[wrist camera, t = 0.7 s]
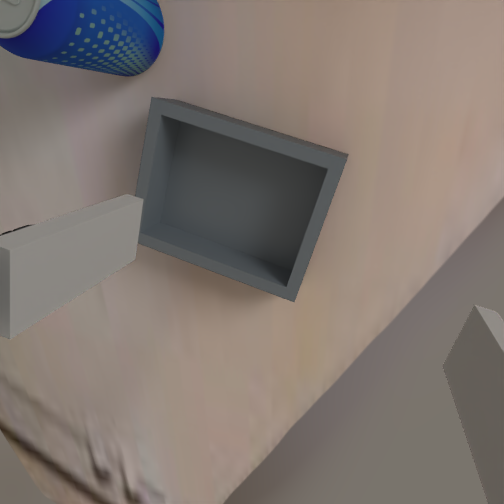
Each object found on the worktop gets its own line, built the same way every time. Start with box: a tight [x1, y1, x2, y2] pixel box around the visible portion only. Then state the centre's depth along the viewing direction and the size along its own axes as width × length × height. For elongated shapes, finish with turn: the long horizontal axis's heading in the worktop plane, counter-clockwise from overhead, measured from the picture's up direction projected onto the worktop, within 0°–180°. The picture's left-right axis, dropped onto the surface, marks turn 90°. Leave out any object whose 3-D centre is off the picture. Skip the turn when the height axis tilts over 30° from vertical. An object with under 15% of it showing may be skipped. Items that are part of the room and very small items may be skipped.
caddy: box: [135, 97, 348, 302], centre depth 39 cm, size 14×18×5 cm
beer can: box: [0, 0, 164, 76], centre depth 31 cm, size 8×8×16 cm
